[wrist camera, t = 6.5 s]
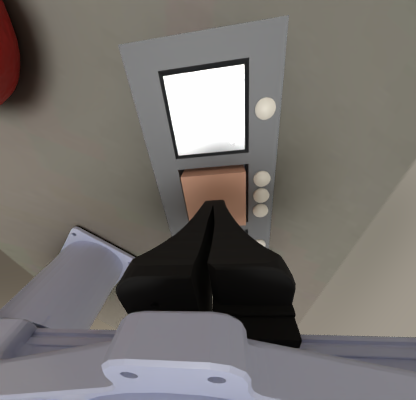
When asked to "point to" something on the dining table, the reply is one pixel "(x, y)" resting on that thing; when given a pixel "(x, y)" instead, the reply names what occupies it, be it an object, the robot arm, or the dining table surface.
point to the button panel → (253, 110)
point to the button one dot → (207, 110)
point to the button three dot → (216, 189)
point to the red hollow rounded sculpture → (8, 56)
